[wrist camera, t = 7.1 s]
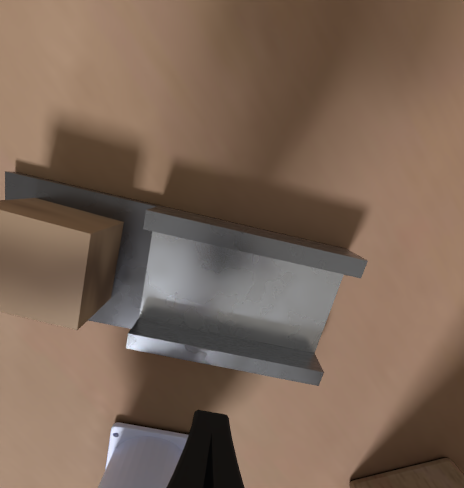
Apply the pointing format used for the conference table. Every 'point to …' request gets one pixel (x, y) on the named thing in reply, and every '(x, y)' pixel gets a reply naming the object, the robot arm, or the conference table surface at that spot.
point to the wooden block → (416, 477)
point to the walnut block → (55, 261)
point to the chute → (211, 284)
